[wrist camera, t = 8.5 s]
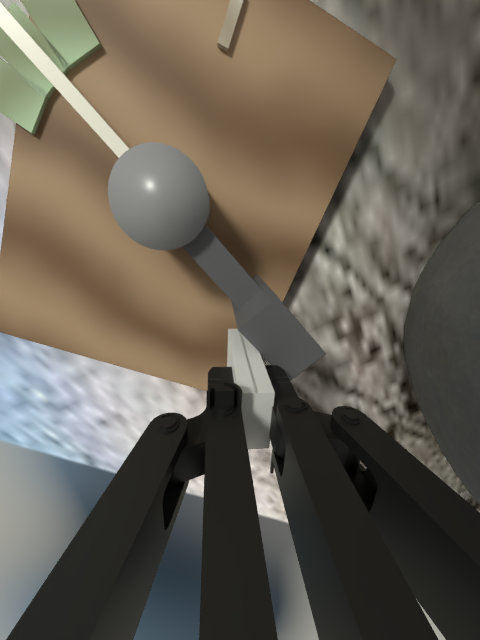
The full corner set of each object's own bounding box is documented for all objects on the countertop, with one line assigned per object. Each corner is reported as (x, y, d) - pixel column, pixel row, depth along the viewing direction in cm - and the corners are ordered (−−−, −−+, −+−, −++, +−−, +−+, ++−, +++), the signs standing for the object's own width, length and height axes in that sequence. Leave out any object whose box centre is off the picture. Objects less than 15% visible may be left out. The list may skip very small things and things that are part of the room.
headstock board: (20, -167, 11) (-7, -222, 10) (383, 70, 16) (400, 55, 14) (-27, 314, 18) (-47, 321, 17) (235, 390, 22) (237, 402, 21)
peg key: (-18, 59, 13) (-212, -81, 7) (39, -17, 12) (-125, -243, 6) (256, 343, 19) (273, 393, 14) (302, 305, 19) (341, 340, 13)
